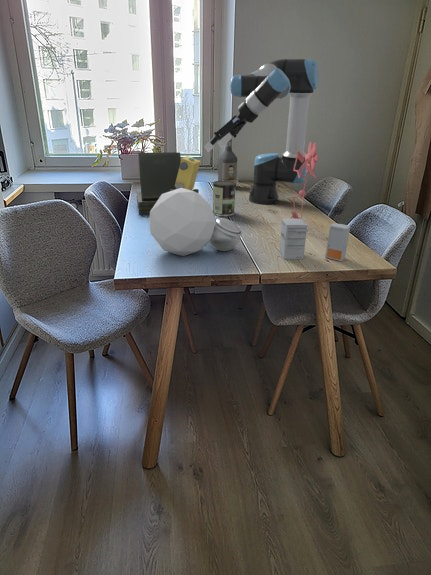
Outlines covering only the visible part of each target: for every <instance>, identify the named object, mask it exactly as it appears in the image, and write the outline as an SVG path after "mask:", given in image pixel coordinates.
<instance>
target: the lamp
mask: <svg viewBox="0 0 431 575" xmlns="http://www.w3.org/2000/svg"><path fill="white" fill-rule="evenodd" d="M148 223H149V231H150V235H151V236H152V237H153V238H154V240H155V241H156V242H157V244H158V245H159V247H161V249H162V250H163V251H165V252H168V253H171V254H175V255H178V256H182V257H185V256H188V255H191V254H193V253H196V252H198V251H201V250H203V248H204V247H206V245H208V243H209V244H210V246H211V247H212V248H214V249H216V251H217V250H218V251H220V252H228V251H231V250H234V248H236V247H237V246H238V244H239V243H240V242H241V236H242V230H241V229H240V226H239V225H238V224H237V223H235V222H234V221H232V220H230V219H228V218H225V217H224V218H223V217H219V218H216V217H215V215H214V214H213V208H212V206H211V204H210V203H209V201H208V200H206V198H205V197H204V196H203V195H202V194H201V193H197V192H195V191H191V190H188V189H184V188H179V189H176V190H173V191H170V192H167V193H164V194H162V195H161V196H160V198H159V199H158V201H157V202H156V204H155V205H154V207H153V208H152V210H151V211H150V215H149V222H148Z"/></svg>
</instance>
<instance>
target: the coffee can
mask: <svg viewBox="0 0 431 575" xmlns="http://www.w3.org/2000/svg"><path fill="white" fill-rule="evenodd" d="M235 185H236V186H237V182H236V183H235V182H232V181H218V180H216V181H213V182H212V211H213V214H214V216H219V217H230V216H234V215H235V203H236V202H235V199H236V187H235Z"/></svg>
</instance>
